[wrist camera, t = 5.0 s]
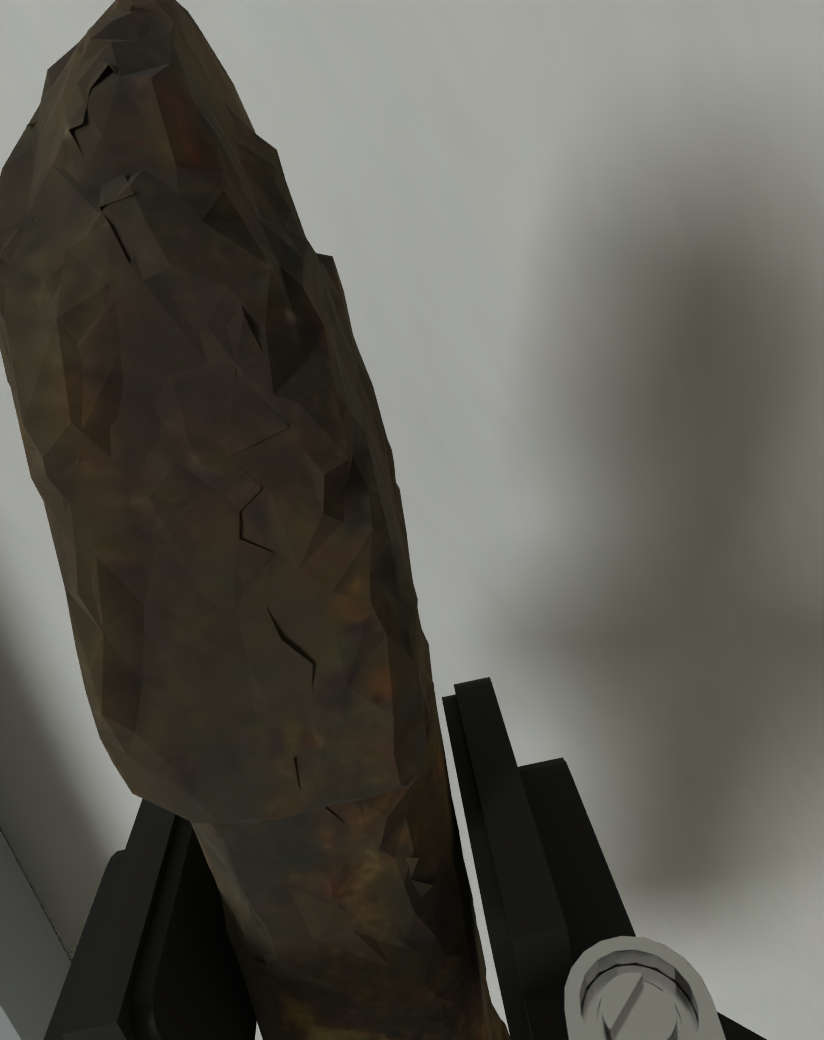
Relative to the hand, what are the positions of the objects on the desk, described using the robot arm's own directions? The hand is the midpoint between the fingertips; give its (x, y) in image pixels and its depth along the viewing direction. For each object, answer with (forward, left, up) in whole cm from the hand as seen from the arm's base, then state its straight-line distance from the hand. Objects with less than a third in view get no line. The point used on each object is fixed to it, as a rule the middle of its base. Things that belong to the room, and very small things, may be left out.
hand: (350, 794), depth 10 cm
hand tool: (0, 0, -1) cm, 1 cm away
